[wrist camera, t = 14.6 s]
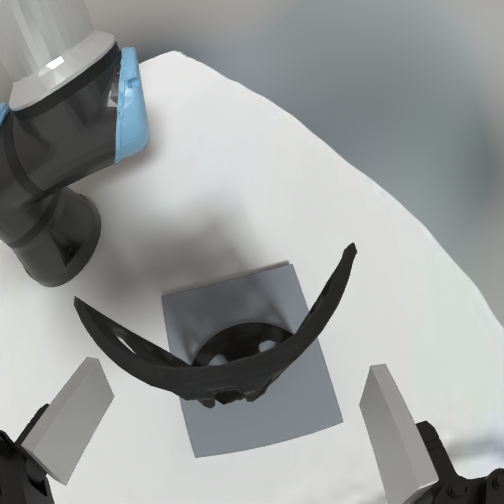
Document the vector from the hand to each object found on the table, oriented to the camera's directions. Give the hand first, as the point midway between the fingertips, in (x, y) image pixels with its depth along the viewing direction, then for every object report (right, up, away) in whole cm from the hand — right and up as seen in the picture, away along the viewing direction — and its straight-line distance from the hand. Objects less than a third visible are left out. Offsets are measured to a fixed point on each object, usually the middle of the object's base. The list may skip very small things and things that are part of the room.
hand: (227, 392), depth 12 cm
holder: (+1, -4, +15) cm, 15 cm away
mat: (+1, -5, +15) cm, 16 cm away
